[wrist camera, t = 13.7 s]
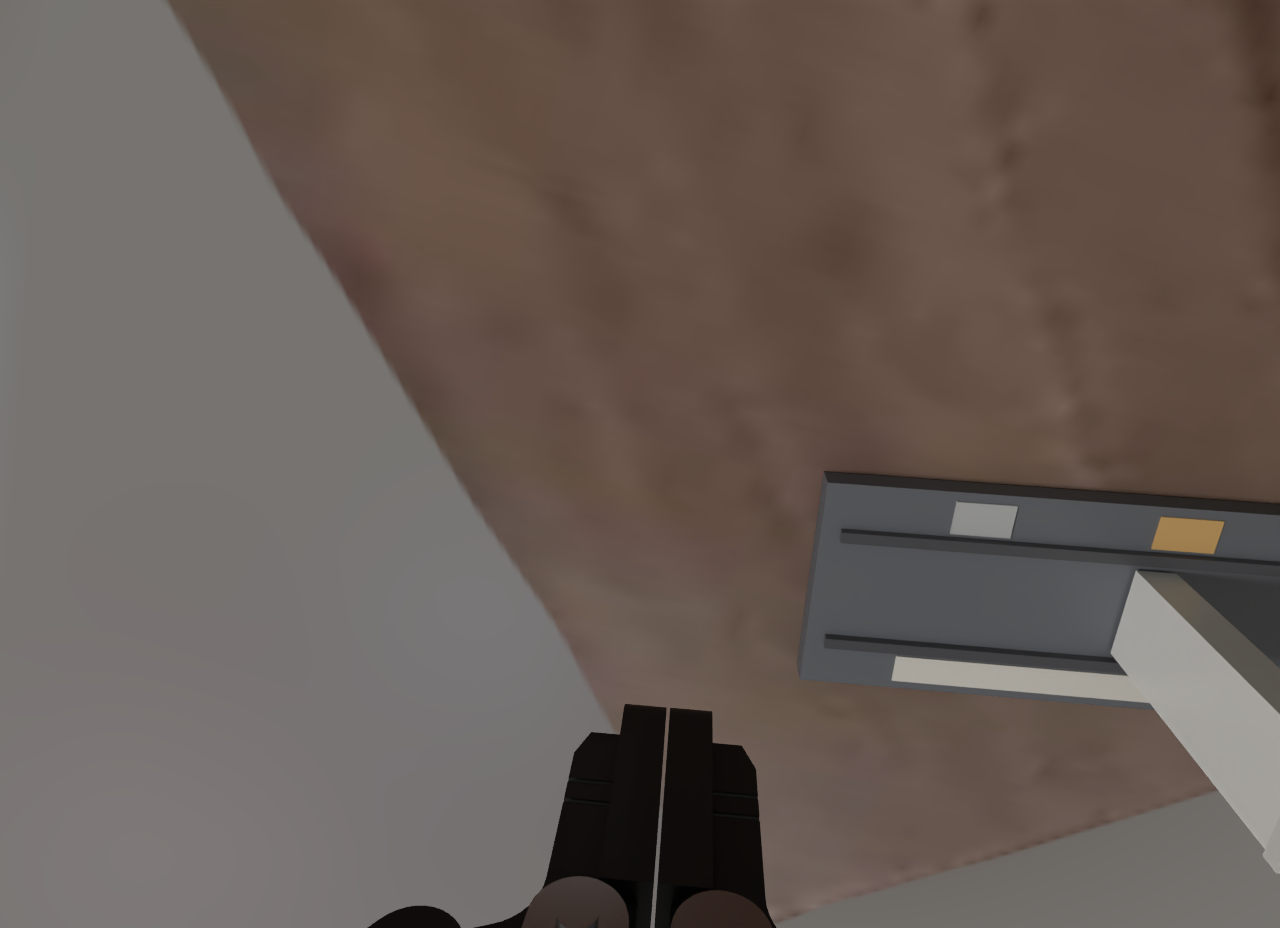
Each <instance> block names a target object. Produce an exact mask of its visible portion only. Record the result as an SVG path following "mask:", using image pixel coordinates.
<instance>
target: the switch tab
mask: <svg viewBox="0 0 1280 928" xmlns="http://www.w3.org/2000/svg"><path fill="white" fill-rule="evenodd" d="M1111 655H1112V656H1113V657H1114V658H1115V660H1116V661H1117V662H1118V663H1119V665H1120V666H1121V667H1122V669H1123V670H1124V671H1125V672H1126V674H1127V675H1128V676H1129V677H1130V679H1131V680H1132V681H1133V682H1134V684H1135V685H1136V686H1137V688H1138V689H1139V690H1140V691H1141V693H1142V694H1143V695H1144V696H1145V698H1146V699H1147V700H1148V702H1149V703H1150V704H1151V705H1152V707H1153V708H1154V709H1155V710H1156V712H1157V713H1158V714H1159V715H1160V717H1161V718H1162V719H1163V721H1164V722H1165V723H1166V724H1167V726H1168V727H1169V728H1170V729H1171V731H1172V732H1173V733H1174V735H1175V736H1176V737H1177V738H1178V740H1179V741H1180V742H1181V743H1182V745H1183V746H1184V747H1185V749H1186V750H1187V751H1188V752H1189V754H1190V755H1191V756H1192V757H1193V759H1194V760H1195V761H1196V762H1197V764H1198V765H1199V766H1200V768H1201V769H1202V770H1203V771H1204V773H1205V774H1206V775H1207V776H1208V778H1209V779H1210V780H1211V782H1212V783H1213V784H1214V785H1215V787H1216V788H1217V789H1218V790H1219V792H1220V793H1221V794H1222V795H1223V797H1224V798H1225V799H1226V800H1227V802H1228V803H1229V804H1230V806H1231V807H1232V808H1233V809H1234V811H1235V812H1236V813H1237V815H1238V816H1239V817H1240V818H1241V820H1242V821H1243V822H1244V823H1245V825H1246V826H1247V827H1248V828H1249V830H1250V831H1251V832H1252V834H1253V835H1254V836H1255V837H1256V839H1257V840H1258V841H1259V842H1260V844H1261V845H1262V846H1263V848H1264V849H1265V851H1264V853H1263V857H1264V858H1265V860H1266V861H1267V862H1268V863H1269V865H1270V866H1271V867H1272V869H1273V870H1274V871H1275V872H1276V873H1280V668H1279V667H1278V666H1276V665H1275V664H1274V663H1273V662H1272V661H1271V660H1270V659H1269V658H1268V657H1267V656H1266V655H1265V654H1263V653H1262V652H1261V651H1260V650H1259V649H1258V648H1257V647H1256V646H1255V645H1254V644H1253V643H1251V642H1250V641H1249V640H1248V639H1247V638H1246V637H1245V636H1244V635H1243V634H1242V633H1241V632H1240V631H1238V630H1237V629H1236V628H1235V627H1234V626H1233V625H1232V624H1231V623H1230V622H1229V621H1228V620H1226V619H1225V618H1224V617H1223V616H1222V615H1221V614H1220V613H1219V612H1218V611H1217V610H1216V609H1214V608H1213V607H1212V606H1211V605H1210V604H1209V603H1208V602H1207V601H1206V600H1205V599H1204V598H1203V597H1201V596H1200V595H1199V594H1198V593H1197V592H1196V591H1195V590H1194V589H1193V588H1192V587H1191V586H1189V585H1188V584H1187V583H1186V582H1185V581H1184V580H1183V579H1182V578H1181V577H1180V576H1179V575H1178V574H1176V573H1163V572H1150V571H1137V570H1136V572H1135V575H1134V578H1133V581H1132V585H1131V588H1130V591H1129V594H1128V598H1127V601H1126V604H1125V607H1124V611H1123V614H1122V617H1121V620H1120V624H1119V627H1118V630H1117V633H1116V637H1115V640H1114V643H1113V646H1112V650H1111Z"/></svg>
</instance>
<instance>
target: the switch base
mask: <svg viewBox="0 0 1280 928" xmlns="http://www.w3.org/2000/svg"><path fill="white" fill-rule="evenodd" d="M1136 570H1137V571H1150V572H1163V573H1176V574H1178V575H1179V576H1180V577H1181V578H1182V579H1183V580H1184V581H1185V582H1186V583H1187V584H1188V585H1189V586H1191V587H1192V588H1193V589H1194V590H1195V591H1196V592H1197V593H1198V594H1199V595H1200V596H1201V597H1203V598H1204V599H1205V600H1206V601H1207V602H1208V603H1209V604H1210V605H1211V606H1212V607H1213V608H1214V609H1216V610H1217V611H1218V612H1219V613H1220V614H1221V615H1222V616H1223V617H1224V618H1225V619H1226V620H1228V621H1229V622H1230V623H1231V624H1232V625H1233V626H1234V627H1235V628H1236V629H1237V630H1238V631H1240V632H1241V633H1242V634H1243V635H1244V636H1245V637H1246V638H1247V639H1248V640H1249V641H1250V642H1251V643H1253V644H1254V645H1255V646H1256V647H1257V648H1258V649H1259V650H1260V651H1261V652H1262V653H1263V654H1265V655H1266V656H1267V657H1268V658H1269V659H1270V660H1271V661H1272V662H1273V663H1274V664H1275V665H1276V666H1278V667H1279V668H1280V504H1267V503H1253V502H1239V501H1225V500H1212V499H1198V498H1184V497H1170V496H1156V495H1142V494H1128V493H1114V492H1100V491H1087V490H1073V489H1059V488H1045V487H1031V486H1017V485H1003V484H989V483H975V482H962V481H948V480H934V479H920V478H906V477H892V476H878V475H864V474H851V473H837V472H824V475H823V482H822V489H821V496H820V503H819V510H818V518H817V525H816V532H815V539H814V546H813V553H812V560H811V568H810V575H809V582H808V589H807V596H806V603H805V610H804V618H803V625H802V632H801V639H800V646H799V653H798V660H797V666H798V672H799V678H800V679H802V680H814V681H825V682H837V683H849V684H860V685H872V686H883V687H895V688H906V689H918V690H929V691H941V692H952V693H964V694H975V695H987V696H999V697H1010V698H1022V699H1033V700H1045V701H1056V702H1068V703H1079V704H1091V705H1102V706H1114V707H1125V708H1137V709H1149V710H1155V709H1154V708H1153V707H1152V705H1151V704H1150V703H1149V702H1148V700H1147V699H1146V698H1145V696H1144V695H1143V694H1142V693H1141V691H1140V690H1139V689H1138V688H1137V686H1136V685H1135V684H1134V682H1133V681H1132V680H1131V679H1130V677H1129V676H1128V675H1127V674H1126V672H1125V671H1124V670H1123V669H1122V667H1121V666H1120V665H1119V663H1118V662H1117V661H1116V660H1115V658H1114V657H1113V656H1112V655H1111V650H1112V646H1113V643H1114V640H1115V637H1116V633H1117V630H1118V627H1119V624H1120V620H1121V617H1122V614H1123V611H1124V607H1125V604H1126V601H1127V598H1128V594H1129V591H1130V588H1131V585H1132V581H1133V578H1134V575H1135V572H1136Z"/></svg>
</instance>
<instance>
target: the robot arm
mask: <svg viewBox="0 0 1280 928" xmlns="http://www.w3.org/2000/svg"><path fill="white" fill-rule="evenodd" d="M665 722H666V708H665V707H654V706H643V705H632V704H625V706H624V712H623V719H622V725H621V732H620V735H617V734H606V733H594V732H591V733H590V734H589V736H588V737H587V738H586V739H585V740H584V742H583V743H582V744H581V745H580V746H579V748H578V749H577V750H576V751H575V752H574V756H573V761H572V765H571V770H570V774H569V781H568V783H567V788H566V792H565V797H564V802H563V806H562V810H561V815H560V819H559V824H558V828H557V833H556V837H555V841H554V846H553V850H552V855H551V859H550V864H549V868H548V873H547V877H546V880H545V883H544V886H543V888H542V890H541V891H540V892H539V893H538V894H537V895H536V896H535V897H534V899H533V900H532V902H531V903H530V905H529V906H528V907H527V908H525V909H524V910H523V911H522V912H520V913H518V914H517V915H515V916H513V917H511V918H509V919H507V920H504V921H502V922H498V923H494V924H490V925H485V926H480V927H475V928H650V924H651V911H652V898H653V885H654V871H655V859H656V858H655V857H656V845H657V832H658V818H659V806H660V792H661V778H662V764H663V750H664V736H665ZM368 928H461V927H460V925H459V924H458V923H457V921H456V920H455V919H454V918H453V917H452V916H451V915H450V914H448V913H446V912H445V911H443V910H441V909H437V908H435V907H430V906H411V907H406V908H403V909H399V910H396V911H394V912H392V913H389V914H387V915H386V916H384V917H383V918H381V919H379V920H378V921H376V922H375V923H374V924H372V925H371V926H370V927H368ZM655 928H776V926H775V925H774V923H773V921H772V919H771V917H770V915H769V912H768V909H767V906H766V899H765V887H764V873H763V859H762V846H761V832H760V821H759V805H758V792H757V778H756V769H755V767H754V765H753V764H752V762H751V760H750V759H749V757H748V755H747V754H746V752H745V750H744V749H743V747H742V746H739V745H728V744H717V743H712V711H701V710H690V709H679V708H670V719H669V733H668V746H667V760H666V774H665V787H664V801H663V815H662V829H661V844H660V858H659V872H658V886H657V901H656V914H655Z"/></svg>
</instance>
